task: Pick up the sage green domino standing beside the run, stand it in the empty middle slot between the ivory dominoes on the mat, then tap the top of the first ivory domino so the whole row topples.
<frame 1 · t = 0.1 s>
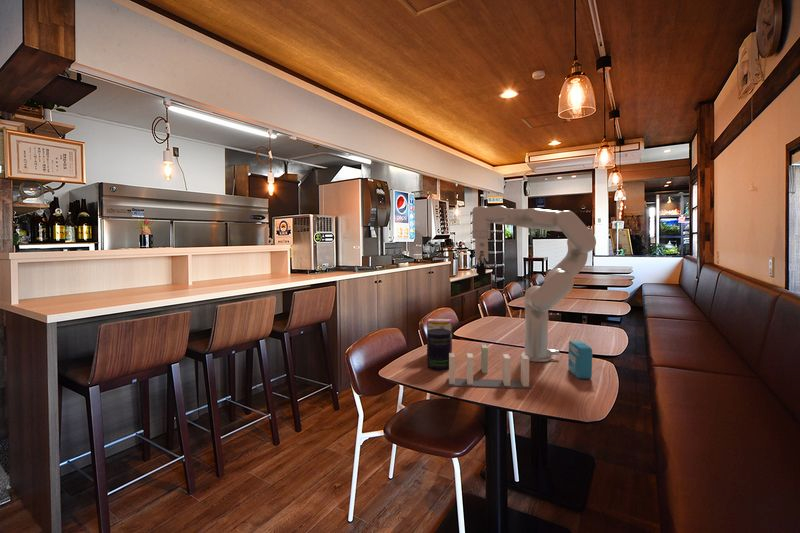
hand: (480, 274, 177), 37 cm above the table, tool pointing down, fingers open, 9 cm apart
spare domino: (484, 371, 161), on the table
domino 5: (451, 381, 149), resting on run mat
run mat: (487, 383, 147), on the table
teal box: (579, 375, 156), on the table
domino 2: (506, 383, 147), resting on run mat
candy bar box: (439, 356, 182), on the table
storage jar: (439, 367, 166), on the table
domino 1: (524, 383, 146), resting on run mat
domino 4: (469, 382, 148), resting on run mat
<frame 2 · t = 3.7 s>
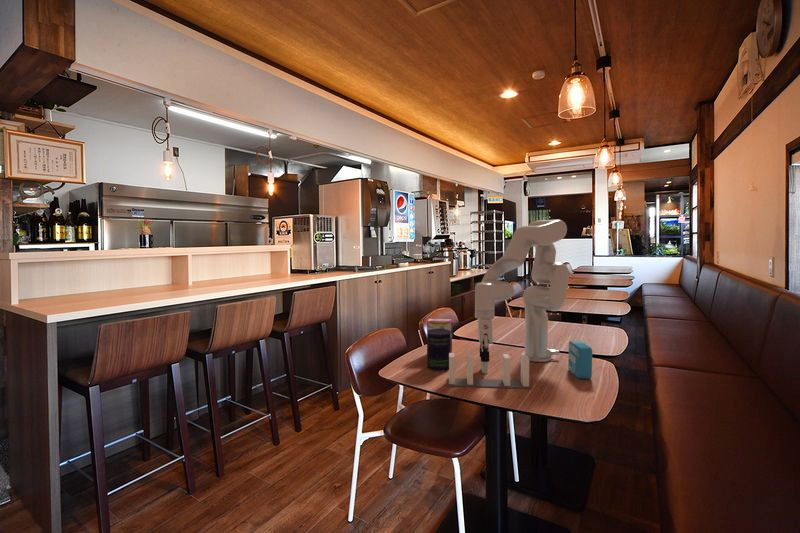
hand: (484, 358, 161), 5 cm above the table, tool pointing down, fingers closed on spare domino, 4 cm apart
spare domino: (484, 371, 161), on the table, touching gripper
everything else where it was.
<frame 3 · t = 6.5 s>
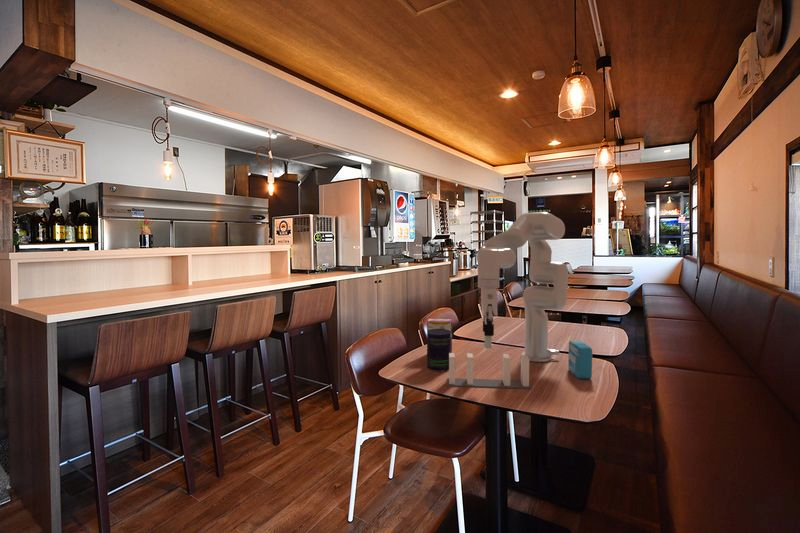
hand: (488, 333, 146), 19 cm above the table, tool pointing down, fingers closed on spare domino, 4 cm apart
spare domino: (487, 346, 146), point 14 cm above the table, touching gripper
everything else where it was.
when the fingers open (7 cm above the table, at t = 9.4 s): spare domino drops 1 cm, resting on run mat.
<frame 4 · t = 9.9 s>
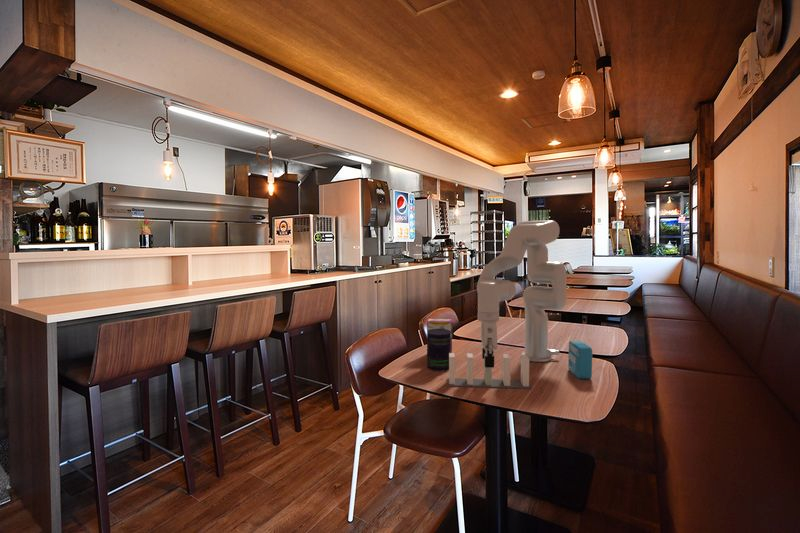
hand: (488, 362, 147), 8 cm above the table, tool pointing down, fingers open, 9 cm apart
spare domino: (487, 382, 147), resting on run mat
everything else where it was.
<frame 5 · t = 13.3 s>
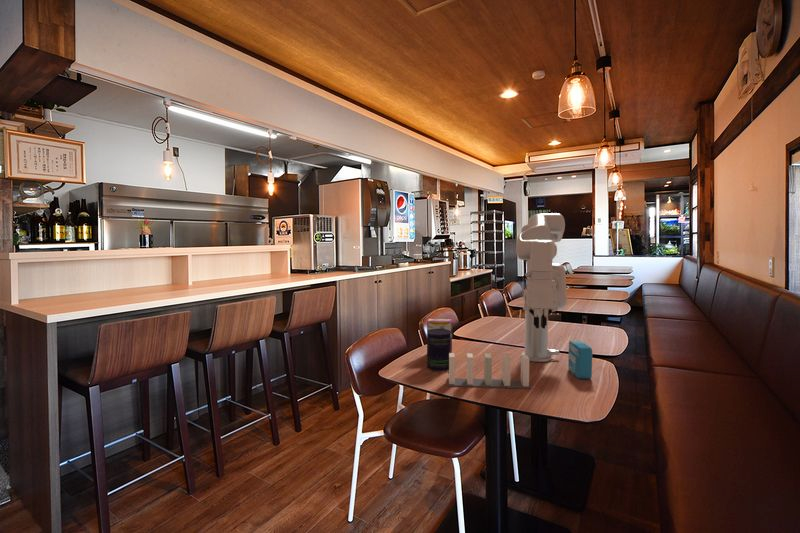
hand: (539, 327, 144), 21 cm above the table, tool pointing down, fingers closed
nothing on the table moved.
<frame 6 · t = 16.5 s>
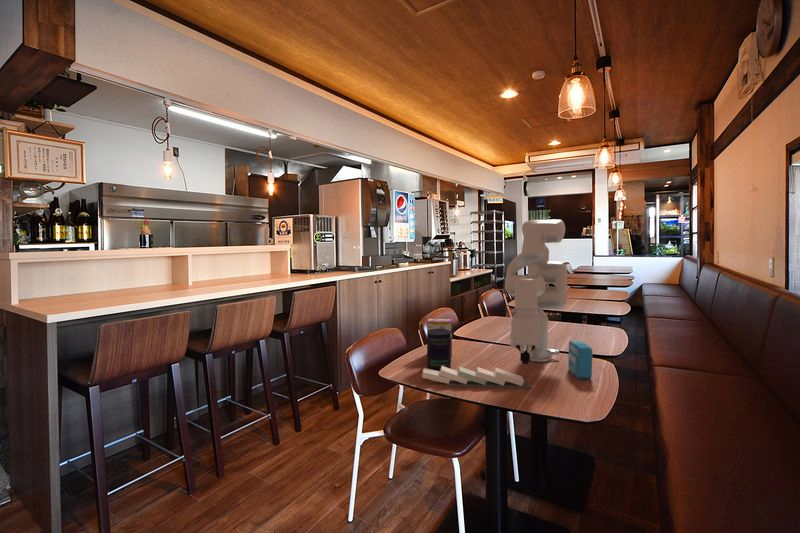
hand: (525, 363, 145), 8 cm above the table, tool pointing down, fingers closed
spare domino: (485, 380, 147), point 1 cm above the table, tilted 72°, touching domino 2, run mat
domino 5: (449, 379, 149), point 1 cm above the table, tilted 78°, touching domino 4, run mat
domino 2: (503, 380, 147), point 1 cm above the table, tilted 72°, touching domino 1, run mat, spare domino
domino 1: (521, 381, 146), point 1 cm above the table, tilted 72°, touching domino 2, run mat
domino 4: (466, 379, 148), point 1 cm above the table, tilted 71°, touching domino 5, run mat
everything else where it was.
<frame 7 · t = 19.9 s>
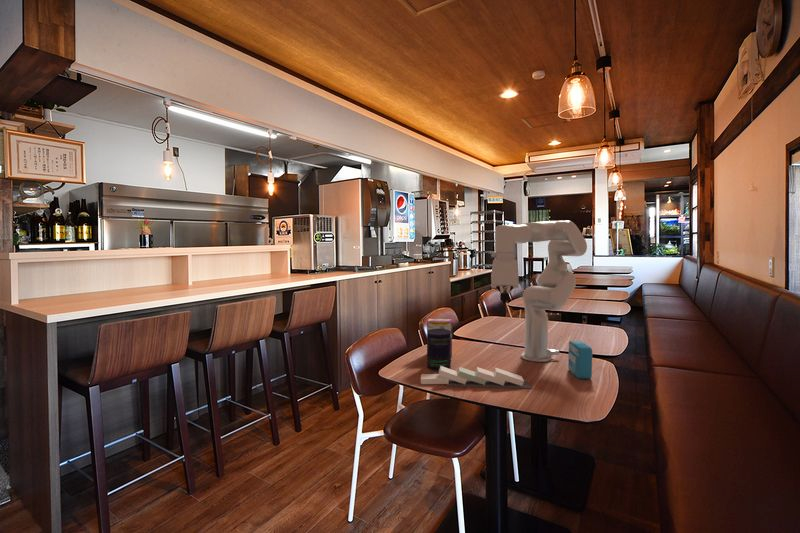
hand: (504, 302, 161), 27 cm above the table, tool pointing down, fingers closed
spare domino: (484, 380, 147), point 1 cm above the table, tilted 73°, touching domino 2, domino 4, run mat
domino 5: (448, 378, 149), point 1 cm above the table, tilted 92°, touching domino 4, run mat
domino 4: (465, 379, 148), point 1 cm above the table, tilted 71°, touching domino 5, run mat, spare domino
everything else where it was.
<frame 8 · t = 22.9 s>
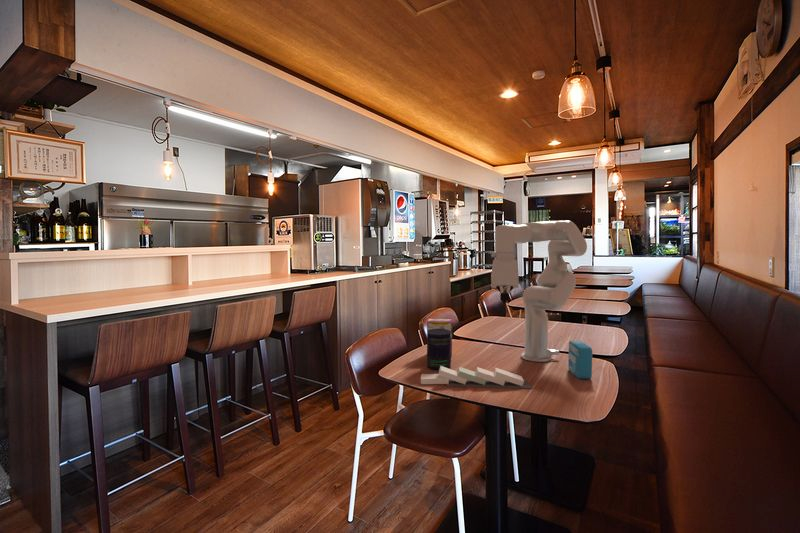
hand: (504, 302, 161), 27 cm above the table, tool pointing down, fingers closed
nothing on the table moved.
at the end: domino 5 tilted 92°; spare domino tilted 73°; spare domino inside the target area (0.9 cm from its centre), point 1.4 cm above the table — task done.
